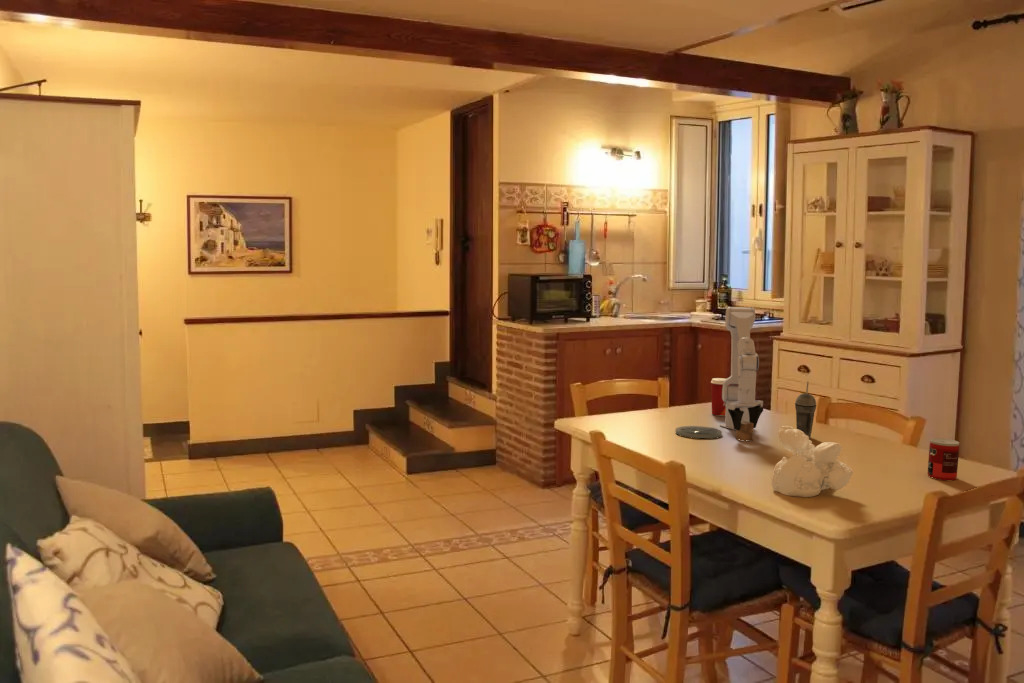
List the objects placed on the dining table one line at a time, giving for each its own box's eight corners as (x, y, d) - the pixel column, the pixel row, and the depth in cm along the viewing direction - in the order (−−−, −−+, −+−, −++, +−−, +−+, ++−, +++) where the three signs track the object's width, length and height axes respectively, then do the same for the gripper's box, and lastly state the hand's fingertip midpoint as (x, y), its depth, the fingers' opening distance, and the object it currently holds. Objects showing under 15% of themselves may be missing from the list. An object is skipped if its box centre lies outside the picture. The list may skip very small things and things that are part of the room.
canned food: (931, 472, 275) (933, 436, 273) (959, 477, 270) (962, 441, 268) (923, 477, 269) (926, 440, 267) (953, 482, 264) (956, 445, 262)
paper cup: (731, 416, 352) (732, 381, 351) (711, 416, 353) (712, 380, 351) (726, 412, 360) (728, 377, 359) (707, 412, 360) (708, 377, 359)
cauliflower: (748, 458, 250) (792, 414, 258) (768, 510, 259) (810, 467, 267) (805, 477, 235) (850, 430, 243) (824, 532, 244) (866, 486, 252)
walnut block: (744, 438, 316) (744, 421, 316) (752, 440, 313) (753, 423, 312) (735, 439, 314) (736, 422, 313) (744, 441, 311) (745, 424, 310)
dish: (699, 427, 332) (699, 424, 332) (731, 436, 319) (731, 432, 318) (666, 431, 323) (666, 428, 323) (697, 440, 310) (697, 437, 310)
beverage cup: (812, 435, 323) (815, 379, 320) (816, 439, 315) (820, 383, 313) (790, 434, 323) (794, 378, 321) (795, 439, 316) (798, 382, 314)
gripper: (740, 392, 304) (738, 432, 306) (770, 389, 312) (768, 428, 313) (725, 389, 310) (723, 428, 312) (755, 386, 318) (753, 425, 319)
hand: (744, 428), depth 313 cm, fingers open, 7 cm apart
